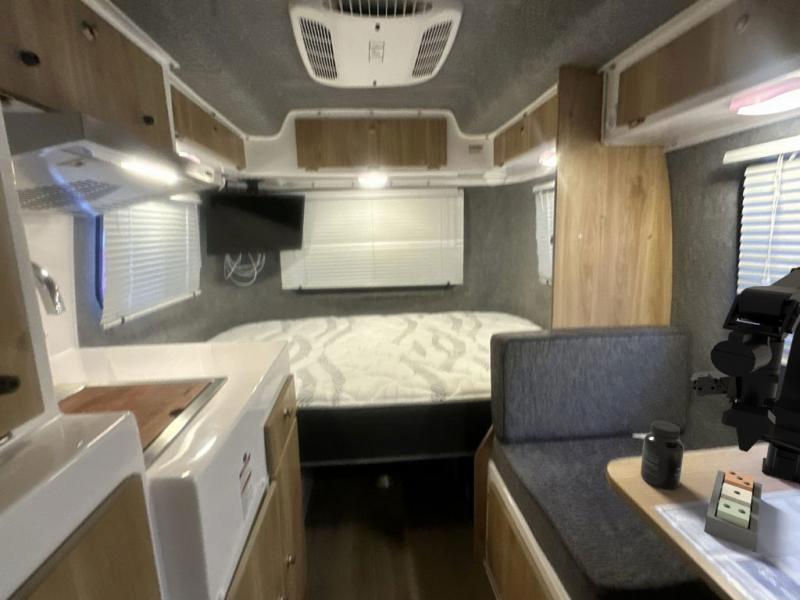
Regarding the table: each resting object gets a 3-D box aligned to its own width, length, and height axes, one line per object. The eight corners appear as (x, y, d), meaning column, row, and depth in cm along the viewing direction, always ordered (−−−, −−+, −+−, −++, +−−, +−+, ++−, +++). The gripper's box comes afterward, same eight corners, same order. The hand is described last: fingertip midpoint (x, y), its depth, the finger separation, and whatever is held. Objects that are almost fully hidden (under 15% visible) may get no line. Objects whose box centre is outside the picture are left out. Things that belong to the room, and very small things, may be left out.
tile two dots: (718, 510, 71) (720, 497, 71) (748, 521, 69) (750, 507, 68) (715, 522, 69) (717, 508, 68) (746, 534, 66) (748, 520, 65)
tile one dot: (721, 494, 75) (723, 482, 75) (750, 504, 73) (752, 491, 72) (719, 505, 73) (721, 492, 72) (748, 516, 70) (750, 503, 69)
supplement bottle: (686, 492, 79) (693, 436, 77) (647, 488, 80) (653, 433, 78) (670, 471, 85) (676, 419, 83) (635, 468, 87) (640, 416, 84)
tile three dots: (725, 480, 79) (726, 468, 79) (751, 489, 77) (753, 477, 76) (722, 490, 76) (724, 478, 76) (750, 500, 74) (752, 487, 73)
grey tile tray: (716, 483, 81) (718, 470, 81) (759, 498, 77) (762, 484, 76) (704, 531, 69) (706, 515, 69) (755, 551, 65) (757, 535, 64)
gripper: (705, 342, 80) (695, 415, 83) (689, 367, 66) (678, 454, 69) (782, 353, 72) (768, 433, 75) (782, 385, 59) (765, 481, 62)
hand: (743, 448), depth 70 cm, fingers closed
